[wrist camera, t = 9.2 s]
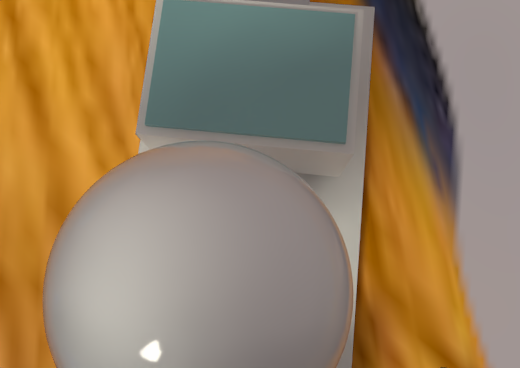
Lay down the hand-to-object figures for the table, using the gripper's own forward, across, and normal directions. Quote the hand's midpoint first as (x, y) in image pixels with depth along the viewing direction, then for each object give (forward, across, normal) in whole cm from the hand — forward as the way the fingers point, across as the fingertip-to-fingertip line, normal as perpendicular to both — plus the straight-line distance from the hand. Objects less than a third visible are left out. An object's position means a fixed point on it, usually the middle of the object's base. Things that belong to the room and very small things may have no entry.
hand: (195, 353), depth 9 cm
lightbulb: (+7, 0, +6) cm, 9 cm away
